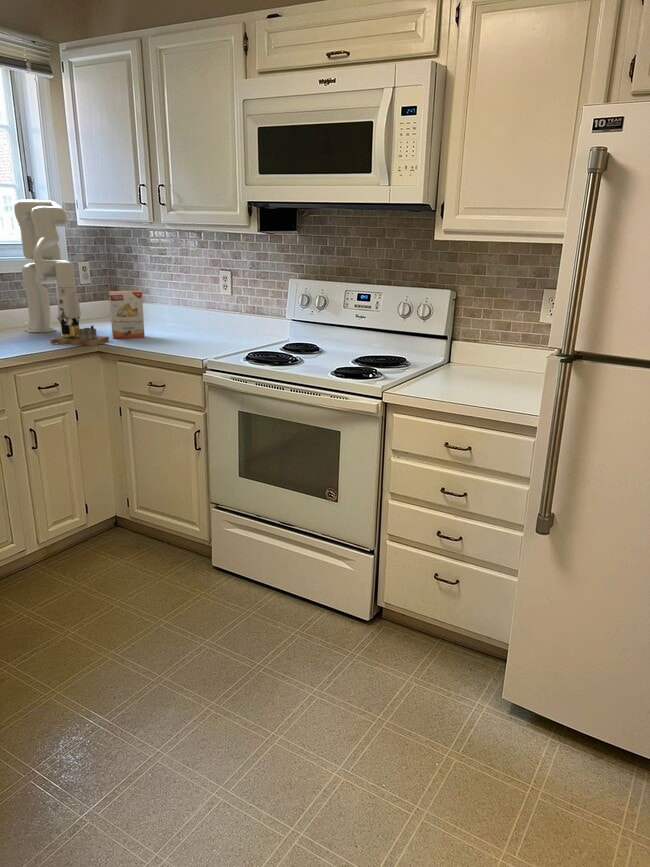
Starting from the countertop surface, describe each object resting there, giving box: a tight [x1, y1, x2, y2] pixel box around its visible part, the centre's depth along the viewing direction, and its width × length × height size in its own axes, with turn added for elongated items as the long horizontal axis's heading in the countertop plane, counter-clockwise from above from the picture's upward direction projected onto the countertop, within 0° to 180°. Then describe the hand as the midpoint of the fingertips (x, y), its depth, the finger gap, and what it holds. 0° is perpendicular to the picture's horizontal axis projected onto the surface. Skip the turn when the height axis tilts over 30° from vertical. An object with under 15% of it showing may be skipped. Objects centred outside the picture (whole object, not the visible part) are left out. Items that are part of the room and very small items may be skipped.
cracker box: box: [108, 290, 146, 340], centre depth 294 cm, size 14×6×21 cm, turn 112°
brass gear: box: [62, 324, 80, 336], centre depth 281 cm, size 7×7×4 cm
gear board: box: [50, 325, 110, 347], centre depth 280 cm, size 20×13×8 cm, turn 79°
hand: (71, 332), depth 281 cm, fingers closed on brass gear, 6 cm apart
